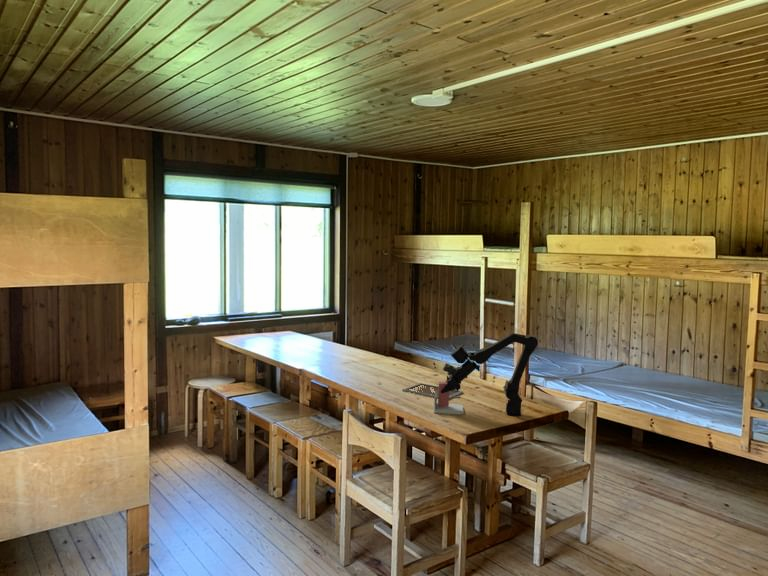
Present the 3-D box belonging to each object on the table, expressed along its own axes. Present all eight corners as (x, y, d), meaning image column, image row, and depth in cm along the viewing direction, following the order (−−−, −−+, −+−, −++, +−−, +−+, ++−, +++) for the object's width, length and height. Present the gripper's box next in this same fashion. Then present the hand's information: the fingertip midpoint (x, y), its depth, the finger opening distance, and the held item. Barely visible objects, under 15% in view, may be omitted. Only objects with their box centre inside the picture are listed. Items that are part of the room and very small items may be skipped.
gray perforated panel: (420, 382, 325) (467, 392, 308) (420, 385, 325) (467, 395, 308) (402, 389, 309) (451, 399, 292) (402, 392, 309) (451, 402, 292)
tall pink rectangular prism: (448, 404, 279) (449, 382, 278) (448, 406, 275) (449, 384, 274) (438, 403, 279) (438, 381, 278) (438, 405, 275) (439, 383, 275)
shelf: (462, 407, 282) (462, 392, 282) (463, 414, 271) (464, 399, 270) (433, 405, 283) (434, 391, 283) (434, 412, 272) (434, 397, 271)
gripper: (452, 354, 284) (429, 375, 286) (454, 362, 266) (429, 384, 267) (467, 370, 284) (444, 391, 286) (470, 379, 266) (445, 401, 267)
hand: (440, 391), depth 277 cm, fingers closed on tall pink rectangular prism, 4 cm apart
